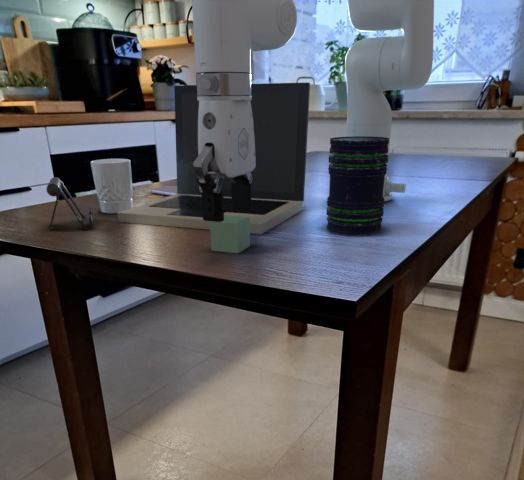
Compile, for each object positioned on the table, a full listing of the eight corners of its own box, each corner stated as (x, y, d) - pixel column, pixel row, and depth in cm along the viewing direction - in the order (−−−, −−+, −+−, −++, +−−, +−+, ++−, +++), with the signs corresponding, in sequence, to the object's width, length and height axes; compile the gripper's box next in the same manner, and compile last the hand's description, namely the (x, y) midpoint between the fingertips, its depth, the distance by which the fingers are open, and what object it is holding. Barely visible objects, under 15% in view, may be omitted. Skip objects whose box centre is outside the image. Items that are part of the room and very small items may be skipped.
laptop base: (261, 234, 89) (261, 223, 88) (118, 221, 100) (117, 211, 99) (302, 210, 107) (302, 200, 106) (177, 201, 118) (176, 193, 117)
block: (250, 246, 82) (249, 217, 80) (238, 253, 79) (237, 223, 77) (224, 243, 84) (223, 215, 82) (211, 250, 80) (209, 221, 78)
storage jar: (319, 233, 89) (322, 140, 82) (332, 221, 97) (336, 136, 91) (377, 237, 86) (385, 141, 79) (385, 224, 94) (394, 136, 88)
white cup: (95, 209, 111) (88, 160, 107) (132, 205, 114) (126, 157, 110) (100, 215, 105) (92, 164, 100) (139, 212, 108) (133, 161, 103)
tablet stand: (93, 229, 94) (86, 182, 90) (47, 233, 92) (38, 184, 88) (93, 219, 102) (86, 175, 98) (51, 222, 100) (42, 177, 96)
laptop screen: (308, 82, 99) (310, 83, 100) (173, 85, 109) (176, 86, 110) (302, 201, 106) (303, 201, 107) (177, 193, 117) (179, 193, 118)
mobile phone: (170, 184, 133) (211, 190, 125) (170, 188, 134) (211, 194, 125) (147, 188, 128) (188, 194, 120) (147, 192, 129) (188, 199, 120)
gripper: (219, 87, 63) (225, 228, 70) (272, 89, 77) (272, 206, 85) (167, 88, 65) (177, 224, 73) (227, 90, 80) (230, 203, 87)
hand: (228, 214), depth 79 cm, fingers open, 9 cm apart
